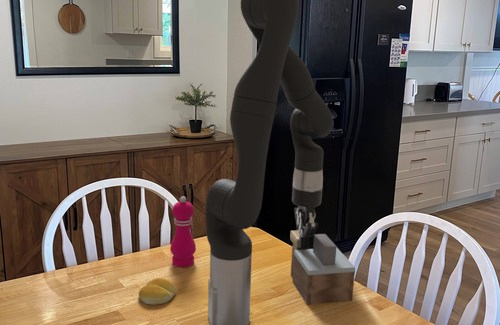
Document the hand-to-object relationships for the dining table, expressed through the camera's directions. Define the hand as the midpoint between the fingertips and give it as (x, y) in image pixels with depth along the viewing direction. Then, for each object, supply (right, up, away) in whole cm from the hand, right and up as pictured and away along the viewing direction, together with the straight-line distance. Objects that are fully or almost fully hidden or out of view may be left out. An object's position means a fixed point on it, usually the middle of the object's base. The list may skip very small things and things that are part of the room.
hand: (303, 248), depth 130 cm
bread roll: (-37, -11, -6) cm, 40 cm away
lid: (+5, -4, -3) cm, 7 cm away
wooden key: (-1, +1, +5) cm, 5 cm away
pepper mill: (-33, -6, +12) cm, 36 cm away
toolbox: (+4, -10, 0) cm, 11 cm away
